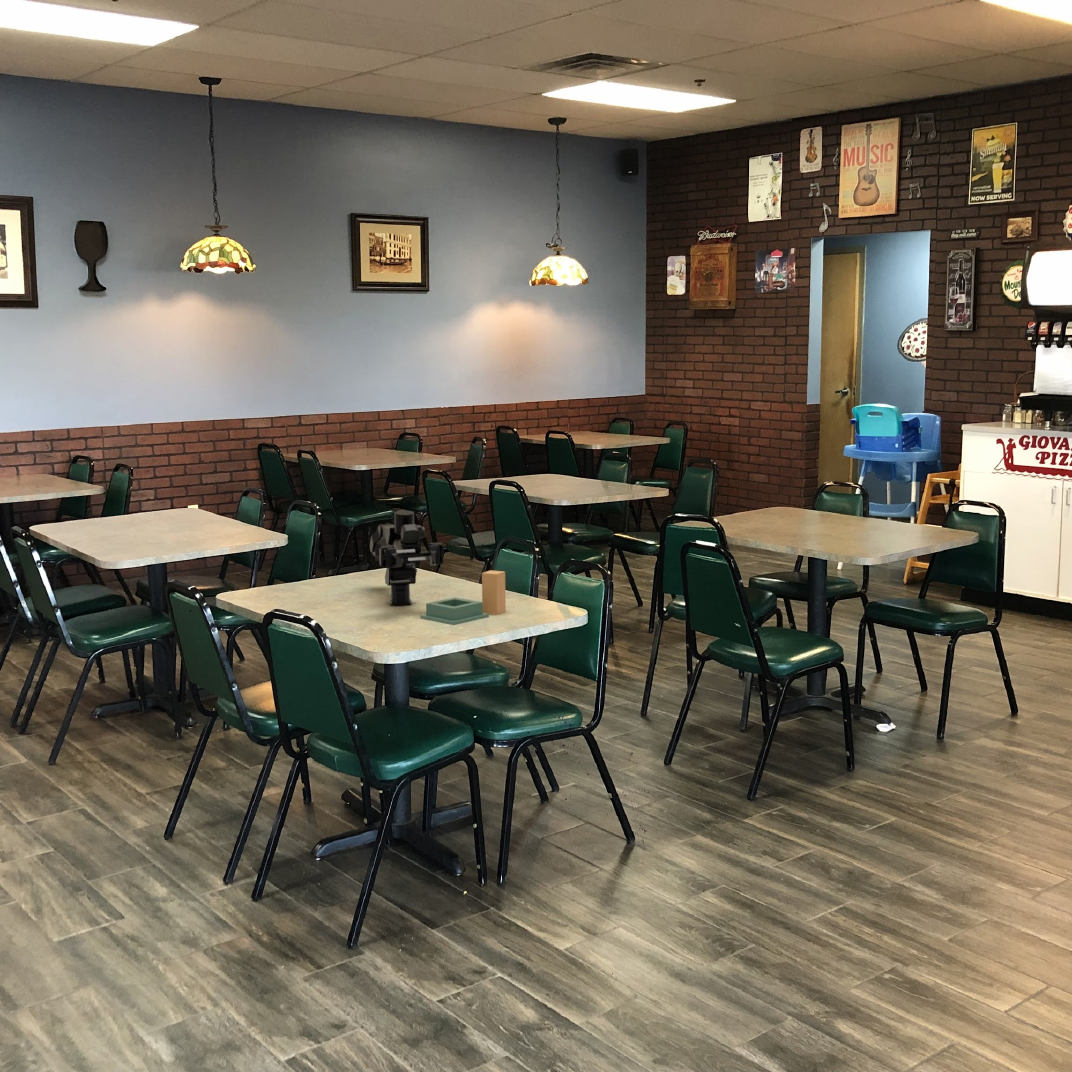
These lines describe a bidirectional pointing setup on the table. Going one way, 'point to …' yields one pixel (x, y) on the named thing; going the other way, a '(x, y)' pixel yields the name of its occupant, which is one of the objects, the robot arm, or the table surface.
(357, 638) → the table surface
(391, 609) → the table surface
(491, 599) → the plug
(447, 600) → the socket housing
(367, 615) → the table surface
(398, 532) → the robot arm
